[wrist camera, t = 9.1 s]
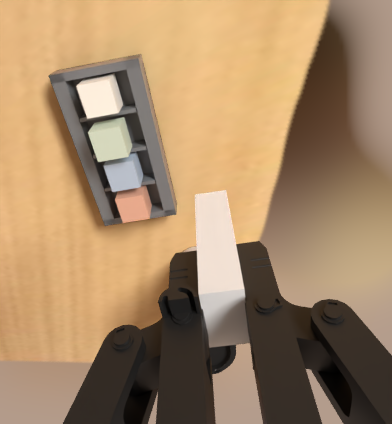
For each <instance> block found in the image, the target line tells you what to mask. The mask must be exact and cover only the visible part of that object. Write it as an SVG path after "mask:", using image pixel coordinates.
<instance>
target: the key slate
mask: <svg viewBox="0 0 392 424" xmlns="http://www.w3.org/2000/svg"><path fill="white" fill-rule="evenodd" d="M104 169H105V172H106V175H107V178H108V181H109V184H110V187H111V189H112V192H116V191H122V190H128V189H134V188H139V187H141V183H142V179H143V173H142V169H141V165H140V162H139V158H138V155H137V151H136V152H130V154H129V157H125V158H119V159H114V160H108V161H106V162H105V164H104Z"/></svg>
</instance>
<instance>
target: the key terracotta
mask: <svg viewBox="0 0 392 424" xmlns="http://www.w3.org/2000/svg"><path fill="white" fill-rule="evenodd" d="M115 201H116V204H117V207H118V210H119V213H120V216H121V219H122V222H123V223H126V222H132V221H139V220H145V219H150V213H151V207H152V204H151V201H150V197H149V194H148V190H147V187H146V185H142V186H141V187H139V188H134V189H128V190H122V191H118V192H117V195H116V198H115Z"/></svg>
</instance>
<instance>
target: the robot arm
mask: <svg viewBox="0 0 392 424" xmlns="http://www.w3.org/2000/svg"><path fill="white" fill-rule="evenodd" d="M195 213H196V240H197V250H196V251H189V252H181V253H175V255H174V257H173V258H172V260H171V262H170V276H169V279H170V280H169V288H168V289H167V290H165V291H164V292H163V293H162V294H161V295H160V297H159V300H158V303H159V307H160V310H161V313H162V319H161V320H159V321H158V322H157V323H155V324H153V325H151V326H149V327H146V328H144V329H142V330H140V329H139V328H137V327H136V326H133V325H122V326H120V327H117V328H115V329H114V330H113V331H111V332H110V333H109V334H108V335H107V337H106V338H105V340H104V342H103V344H102V346H101V348H100V350H99V352H98V354H97V356H96V358H95V360H94V362H93V364H92V366H91V368H90V370H89V372H88V374H87V376H86V378H85V380H84V382H83V384H82V386H81V388H80V390H79V392H78V394H77V396H76V398H75V400H74V402H73V404H72V406H71V408H70V410H69V412H68V414H67V416H66V418H65V420H64V422H63V424H148V421H149V418H150V414H151V411H152V408H153V405H154V402H155V398H156V395H157V392H158V401H157V416H156V424H216V423H215V409H214V394H213V379H212V364H211V358H210V353H209V347H210V348H211V347H220V346H228V345H237V344H245V343H250V345H251V354H252V362H253V370H254V372H255V378H256V384H257V390H258V396H259V402H260V407H261V414H262V419H263V424H322V422H321V419H320V415H319V412H318V408H317V405H316V402H315V399H314V395H313V392H312V389H311V385H310V382H309V379H308V375H307V372H306V369H311V370H312V373H313V374H314V376H315V377H316V379H317V381H318V382H319V384H320V386H321V387H322V389H323V391H324V392H325V394H326V396H327V397H328V399H329V400H330V402H331V404H332V405H333V407H334V409H335V410H336V412H337V414H338V415H339V417H340V419H341V420H342V422H343V423H344V424H392V355H391V354H390V353H389V352H388V351H387V350H386V348H385V347H384V346H383V345H382V344H381V343H380V341H379V340H378V339H377V338H376V337H375V336H374V334H373V333H372V332H371V331H370V330H369V329H368V327H367V326H366V325H365V324H364V323H363V322H362V320H361V319H360V318H359V317H358V316H357V315H356V314H355V312H354V311H353V310H352V309H351V308H350V307H349V306H348V305H346V304H345V303H343V302H340V301H338V300H332V299H327V300H321V301H319V302H317V303H315V304H314V306H313V307H312V308H307V307H301V306H296V305H293V304H291V303H289V302H288V301H286V300H285V299H284V298H283V297H282V296H281V294H280V292H279V289H278V286H277V282H276V279H275V276H274V272H273V269H272V266H271V262H270V259H269V256H268V252H267V249H266V247H264V246H263V245H262V244H261V243H260V242H259V241H257V242H250V243H242V244H236V241H235V236H234V231H233V225H232V220H231V214H230V209H229V204H228V198H227V193H226V190H223V191H216V192H209V193H202V194H195ZM305 368H306V369H305Z"/></svg>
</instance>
